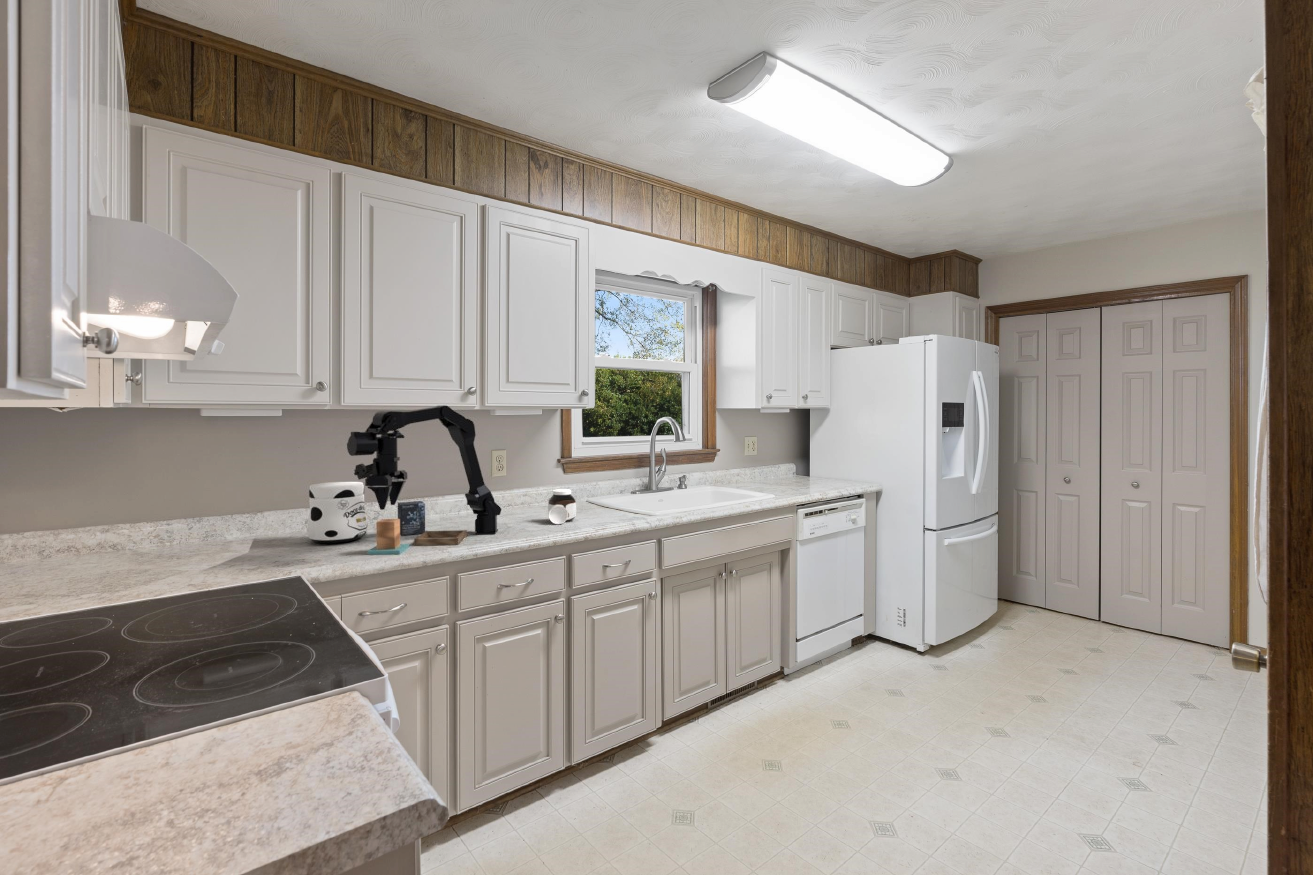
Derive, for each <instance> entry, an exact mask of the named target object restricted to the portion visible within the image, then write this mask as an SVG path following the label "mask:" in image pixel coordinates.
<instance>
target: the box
mask: <svg viewBox="0 0 1313 875" xmlns="http://www.w3.org/2000/svg"><path fill="white" fill-rule="evenodd" d="M397 519H400V537H403V536H411V535H412V536H413V535H421V534H423V533H424V532H425V531H426V503H425V502H424V501H422V500H417V501H416V500H415V501H404V502H397Z"/></svg>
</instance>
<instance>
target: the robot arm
mask: <svg viewBox="0 0 1313 875" xmlns="http://www.w3.org/2000/svg"><path fill="white" fill-rule="evenodd" d="M433 420H439V421H440V424H442V426H443V427H445V429H447V431H448V432H449V435H450V437H451V439H452V441H453V442H454V443H455V445H457V446H458V450H459V453H460V457H461V461H462V464H463V468H464V471H465V475H466V479H467V482H468V486H469V488H468V489H469V490H468V492H466V493H464V497H465V499H466V505H467V506H469V508H470V509H471V510H472V513H473V514H474V515H476V518H475V520H474V531H475V535H495V534H497V533H498V532H499V528H498V516H500V515H501V513H502V508H501V507H500V505H499V504H497V502H495V498H494V496H493V494H492V491H491V490H490V489H489V487H487V485H486V483H485V481H484V480H485V479H484V477H483V474H482V470H481V466H480V462H479V459H478V455H477V451H476V447H475V444H474V443H475V438H476V435H477V434H476V428H475V427H476V426H475V424H474V422H473V420H471V419H470V418H466V417H465V416H463V415H462V414H460V413H458V412H457V411H455V410H453V409H452V408H451V407H449V406H448V405H436V406H432V407H426V408H420V409H412V410H407V411H392V410H391V411H390V410H387V411H384V410H383V411H380V410H379V411H377V412H375V413H374V415H373V417H372V420H371V422H370V424H369V425H368V427H367V428H366V429H365V431H351V432H350V436H349V437H348V440H347V443H346V449H347V453H348V454H349V455H350V456H352V457H355V456H357V457H359V456H373V455H374V454H375V456H376V457H373V459H372V463H370V464H367V465H365V464H364V463H360V464H355V469H354V473H353V474H354V476H356V477H357V478H358V479H357V480H363V479H365V480H364V485H365V486H364V487H367V488H368V489H369V490H371V491H372V492H373V493H374V496H375V498H376V501H377V504H378V507H379V510H382V511H383V510H384V511H385V508H386V507H387V503H388V499H389V502H390V505H391V506H394V505H396V503H397V501H398V498H399V496H400V494H401V492H402V489H403V488H404V485H405V483H406V482H407V480H408V471H406V470H405V469H399V468H398V466H399V465H398V464H399V463H398V461H400V460H401V458H400V456H399V455H398V439H404V438H405V435H404V434H403V433H401V432H400V430H399V429H403V428H405V427H406V426H408V425H410V424H416V423H422V422H428V421H433ZM379 435H380V436H379Z"/></svg>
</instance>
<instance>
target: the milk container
mask: <svg viewBox="0 0 1313 875" xmlns="http://www.w3.org/2000/svg"><path fill="white" fill-rule="evenodd" d="M364 485H365V484H364V483H363V482H362V481H330V482H321V483H313V484H310V485H309V490H308V496H309V499H308V504H309V515H308V519H307V522H306V532H307V537H308V538H309V540H310V541H312V542H315V543H321V544H337V543H345V542H351V541H355V540H358V539H360V538H363V537H364V536H365V535H366V534H367V532H368V528H369V521H368V520H369V519H368V517H367V514H366V510H365V486H364Z"/></svg>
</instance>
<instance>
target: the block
mask: <svg viewBox="0 0 1313 875" xmlns="http://www.w3.org/2000/svg"><path fill="white" fill-rule="evenodd" d="M375 524H376V529H375V530H376V546H377V550H382V549H396V548H397V547H399V546H400V544H401V536H400V519H398V518H382V519H380V520H378V521H376V523H375Z"/></svg>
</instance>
